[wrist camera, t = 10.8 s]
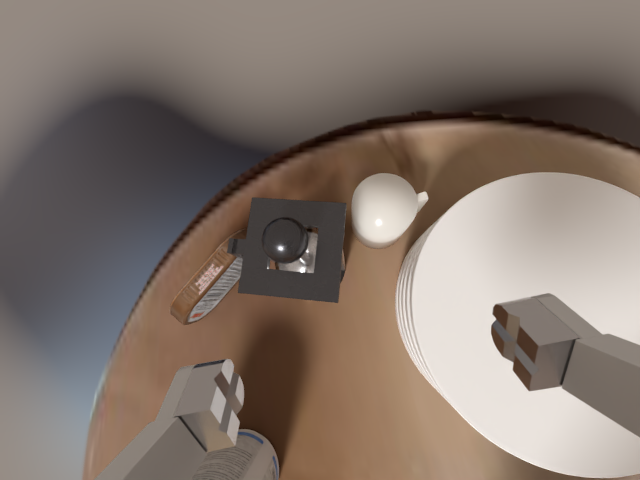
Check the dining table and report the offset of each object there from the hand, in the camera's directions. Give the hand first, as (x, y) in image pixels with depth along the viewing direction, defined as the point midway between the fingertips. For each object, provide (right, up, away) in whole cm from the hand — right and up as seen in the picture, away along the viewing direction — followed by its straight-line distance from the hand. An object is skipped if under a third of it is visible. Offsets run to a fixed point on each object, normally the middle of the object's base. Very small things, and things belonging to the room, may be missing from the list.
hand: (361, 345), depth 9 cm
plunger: (-3, +1, +27) cm, 27 cm away
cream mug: (+7, +6, +34) cm, 35 cm away
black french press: (-4, 0, +33) cm, 34 cm away
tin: (-14, -3, +34) cm, 37 cm away
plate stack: (+23, -6, +30) cm, 38 cm away
